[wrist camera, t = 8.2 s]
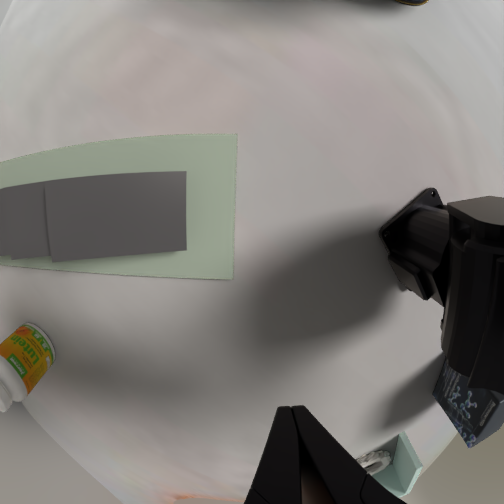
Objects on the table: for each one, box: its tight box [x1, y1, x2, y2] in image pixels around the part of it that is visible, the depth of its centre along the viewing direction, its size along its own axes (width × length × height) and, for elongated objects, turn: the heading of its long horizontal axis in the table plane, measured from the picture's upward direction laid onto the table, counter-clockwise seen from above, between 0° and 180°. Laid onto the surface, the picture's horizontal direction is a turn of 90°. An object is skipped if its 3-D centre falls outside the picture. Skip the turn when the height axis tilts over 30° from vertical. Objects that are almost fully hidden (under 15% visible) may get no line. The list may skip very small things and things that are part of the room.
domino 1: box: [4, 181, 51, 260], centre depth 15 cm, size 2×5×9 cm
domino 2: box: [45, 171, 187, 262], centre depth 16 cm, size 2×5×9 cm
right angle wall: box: [357, 432, 423, 498], centre depth 26 cm, size 12×12×8 cm
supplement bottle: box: [0, 323, 55, 412], centre depth 17 cm, size 5×5×10 cm
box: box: [433, 358, 504, 448], centre depth 19 cm, size 8×6×11 cm
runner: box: [0, 134, 237, 280], centre depth 18 cm, size 30×10×1 cm, turn 88°
